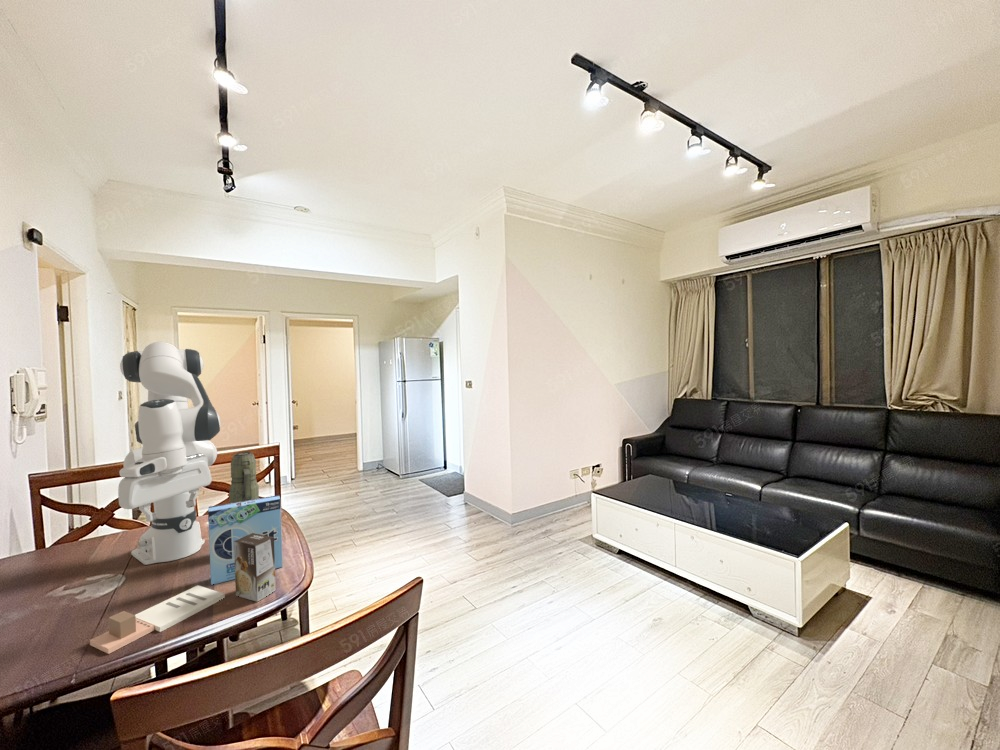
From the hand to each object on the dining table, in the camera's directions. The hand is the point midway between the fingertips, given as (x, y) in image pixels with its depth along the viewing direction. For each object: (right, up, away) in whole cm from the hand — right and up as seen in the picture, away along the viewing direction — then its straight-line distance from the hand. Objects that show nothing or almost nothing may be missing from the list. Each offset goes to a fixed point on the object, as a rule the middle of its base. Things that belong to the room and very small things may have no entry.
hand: (172, 513), depth 108 cm
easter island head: (-4, -26, +38) cm, 46 cm away
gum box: (+6, -27, +23) cm, 36 cm away
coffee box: (+15, -27, +11) cm, 33 cm away
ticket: (-1, -27, +4) cm, 28 cm away
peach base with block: (-6, -28, -8) cm, 29 cm away
